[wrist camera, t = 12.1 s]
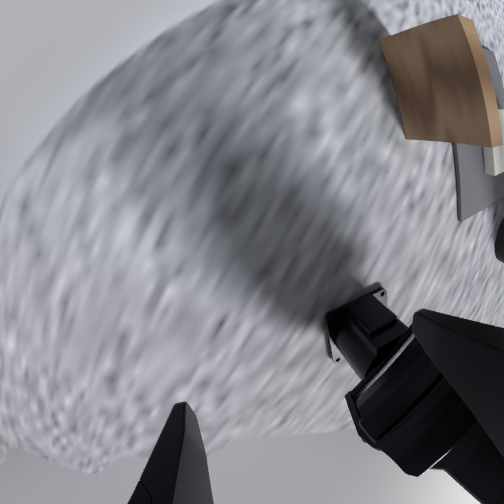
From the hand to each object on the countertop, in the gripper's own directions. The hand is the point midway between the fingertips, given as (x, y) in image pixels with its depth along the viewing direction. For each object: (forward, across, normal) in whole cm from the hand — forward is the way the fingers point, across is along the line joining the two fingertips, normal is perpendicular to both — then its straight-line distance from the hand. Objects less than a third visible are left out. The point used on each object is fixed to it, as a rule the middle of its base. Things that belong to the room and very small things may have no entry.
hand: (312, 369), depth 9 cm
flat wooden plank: (+12, -16, -10) cm, 23 cm away
